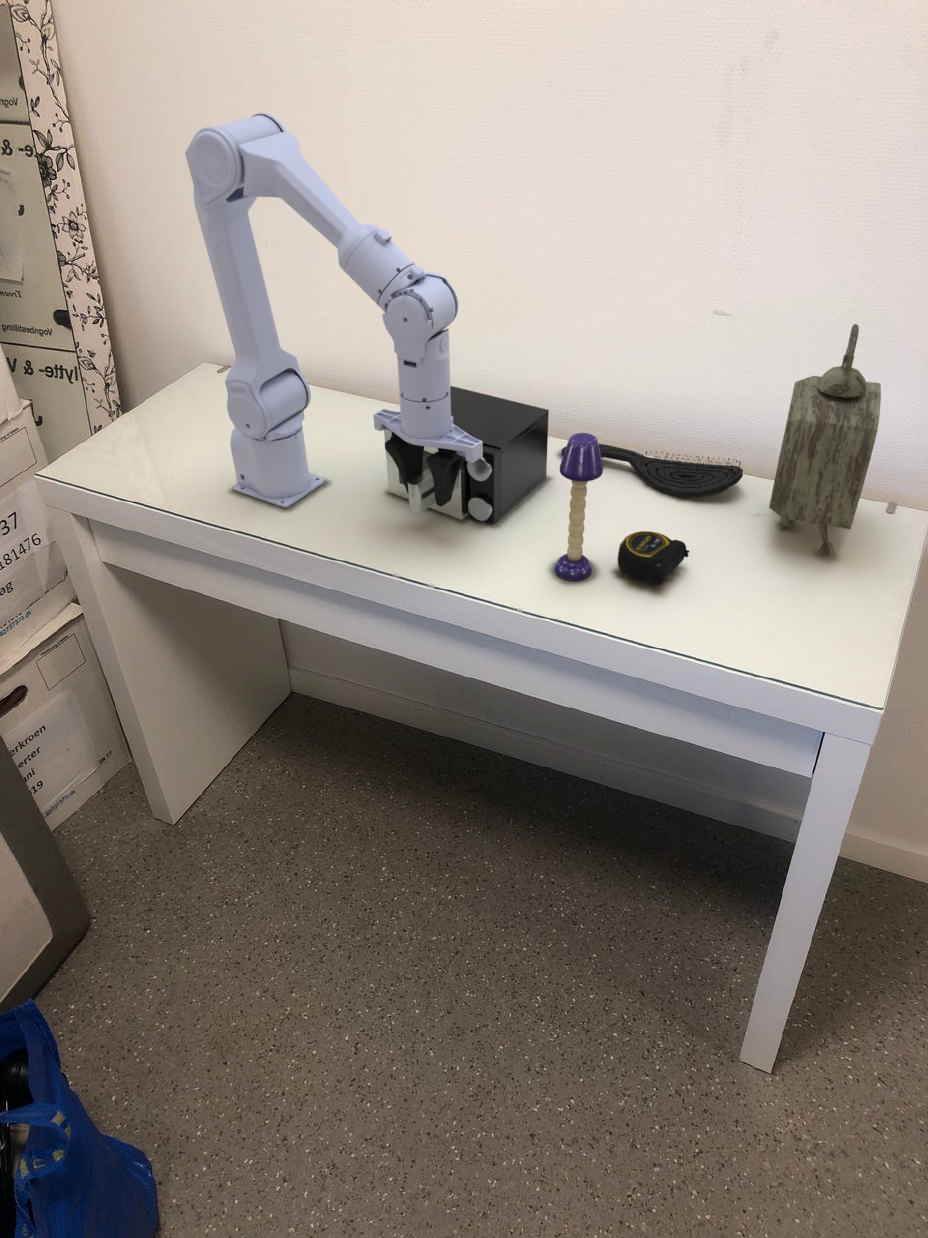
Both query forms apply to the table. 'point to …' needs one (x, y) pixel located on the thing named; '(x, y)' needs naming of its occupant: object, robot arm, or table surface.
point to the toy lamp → (578, 500)
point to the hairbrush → (677, 473)
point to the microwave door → (428, 487)
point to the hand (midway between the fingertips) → (429, 496)
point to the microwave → (501, 450)
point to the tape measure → (650, 556)
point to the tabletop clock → (827, 447)
